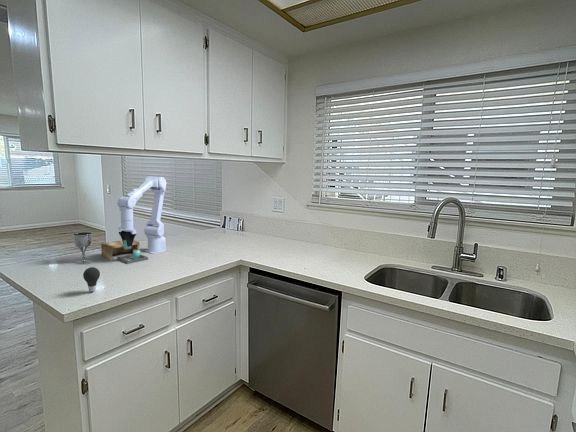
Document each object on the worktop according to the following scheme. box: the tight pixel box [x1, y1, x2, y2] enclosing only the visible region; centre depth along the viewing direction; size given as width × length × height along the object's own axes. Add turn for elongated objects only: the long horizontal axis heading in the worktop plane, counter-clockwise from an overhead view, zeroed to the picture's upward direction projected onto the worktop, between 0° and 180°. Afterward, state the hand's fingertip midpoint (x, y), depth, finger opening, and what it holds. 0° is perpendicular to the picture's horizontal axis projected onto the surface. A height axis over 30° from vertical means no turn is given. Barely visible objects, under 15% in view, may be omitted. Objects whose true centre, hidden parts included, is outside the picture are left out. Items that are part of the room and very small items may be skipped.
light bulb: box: [82, 266, 101, 293], centre depth 124 cm, size 6×6×10 cm
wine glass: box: [72, 231, 93, 265], centre depth 159 cm, size 8×8×15 cm
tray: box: [116, 253, 149, 265], centre depth 168 cm, size 11×11×2 cm
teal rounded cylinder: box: [131, 249, 141, 260], centre depth 169 cm, size 4×4×4 cm
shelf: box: [100, 239, 141, 260], centre depth 175 cm, size 16×10×7 cm, turn 143°
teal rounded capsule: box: [124, 240, 131, 249], centre depth 165 cm, size 4×4×4 cm
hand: (127, 245), depth 165 cm, fingers closed on teal rounded capsule, 4 cm apart
